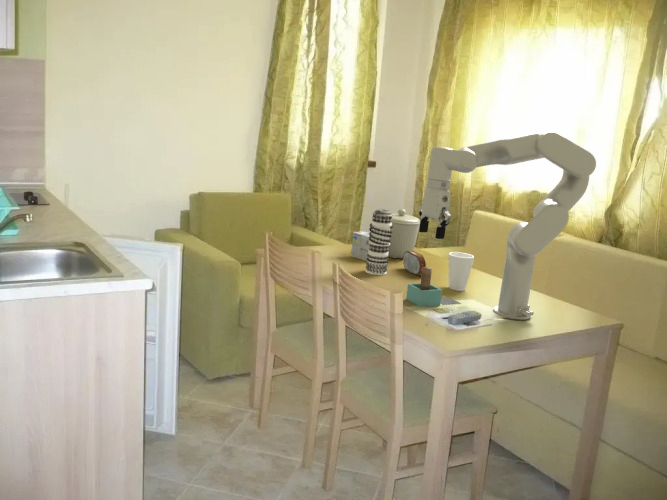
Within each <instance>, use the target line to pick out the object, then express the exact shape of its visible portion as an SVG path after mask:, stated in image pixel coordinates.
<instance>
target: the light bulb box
mask: <svg viewBox="0 0 667 500" xmlns="http://www.w3.org/2000/svg"><path fill="white" fill-rule="evenodd" d="M369 233H370V232H367V231H353V233H352V244H351V254H350V257H353V258H355V257H356V259H358V258H359V260H361V261H366V262H368V260H367V258H368V256H367V254H368V250H369V245H370V243H369V241H370V240H369V237H370V236H369Z"/></svg>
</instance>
